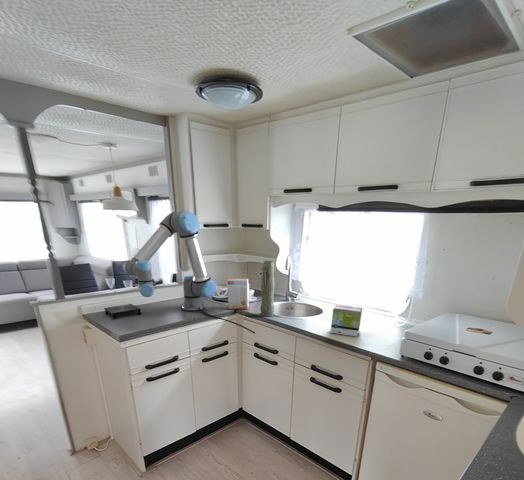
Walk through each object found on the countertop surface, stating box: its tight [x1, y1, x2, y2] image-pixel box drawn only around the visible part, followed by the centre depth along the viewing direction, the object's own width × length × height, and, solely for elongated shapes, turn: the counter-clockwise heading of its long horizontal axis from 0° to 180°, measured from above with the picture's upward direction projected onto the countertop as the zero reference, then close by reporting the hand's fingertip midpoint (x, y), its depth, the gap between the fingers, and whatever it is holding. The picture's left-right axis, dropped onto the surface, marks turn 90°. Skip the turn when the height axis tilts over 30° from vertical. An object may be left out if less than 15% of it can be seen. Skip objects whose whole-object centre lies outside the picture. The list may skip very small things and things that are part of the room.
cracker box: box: [227, 278, 250, 311], centre depth 228 cm, size 14×6×21 cm, turn 84°
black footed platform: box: [103, 303, 142, 320], centre depth 214 cm, size 16×18×4 cm
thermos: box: [260, 260, 276, 318], centre depth 211 cm, size 9×12×35 cm
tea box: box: [330, 304, 363, 337], centre depth 183 cm, size 15×10×15 cm
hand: (142, 279), depth 213 cm, fingers closed on packet, 6 cm apart
